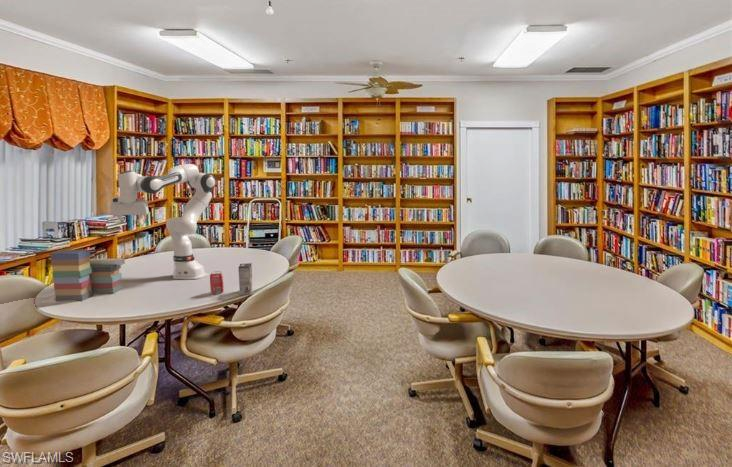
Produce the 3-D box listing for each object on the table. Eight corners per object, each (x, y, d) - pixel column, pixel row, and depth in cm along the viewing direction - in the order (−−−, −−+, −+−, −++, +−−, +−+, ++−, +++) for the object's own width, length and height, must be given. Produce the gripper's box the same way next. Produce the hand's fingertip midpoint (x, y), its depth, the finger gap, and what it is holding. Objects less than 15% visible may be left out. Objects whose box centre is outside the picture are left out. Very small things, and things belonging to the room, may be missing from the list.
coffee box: (241, 290, 238) (240, 263, 236) (252, 289, 240) (251, 263, 237) (239, 294, 229) (238, 267, 227) (251, 294, 231) (250, 266, 228)
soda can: (218, 290, 238) (217, 270, 236) (226, 292, 234) (225, 272, 232) (208, 293, 232) (207, 272, 230) (215, 295, 228) (214, 274, 226)
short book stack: (122, 288, 240) (120, 262, 237) (113, 293, 230) (111, 266, 227) (94, 289, 238) (91, 262, 236) (84, 294, 229) (81, 266, 226)
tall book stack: (94, 295, 227) (89, 249, 223) (83, 300, 217) (78, 253, 213) (67, 295, 226) (62, 249, 222) (55, 301, 216) (50, 253, 212)
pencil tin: (124, 263, 234) (124, 258, 234) (121, 265, 231) (121, 259, 230) (81, 264, 233) (80, 259, 232) (77, 265, 229) (76, 260, 229)
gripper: (149, 198, 239) (151, 221, 241) (113, 198, 237) (115, 222, 239) (144, 199, 232) (146, 223, 234) (107, 199, 231) (109, 223, 233)
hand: (130, 222), depth 237 cm, fingers open, 8 cm apart
